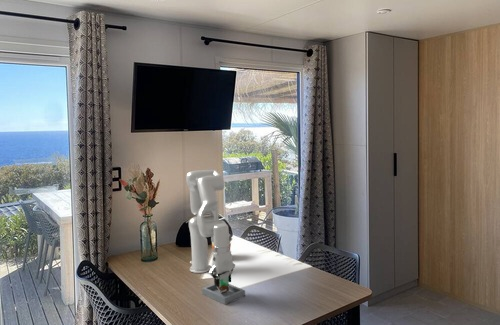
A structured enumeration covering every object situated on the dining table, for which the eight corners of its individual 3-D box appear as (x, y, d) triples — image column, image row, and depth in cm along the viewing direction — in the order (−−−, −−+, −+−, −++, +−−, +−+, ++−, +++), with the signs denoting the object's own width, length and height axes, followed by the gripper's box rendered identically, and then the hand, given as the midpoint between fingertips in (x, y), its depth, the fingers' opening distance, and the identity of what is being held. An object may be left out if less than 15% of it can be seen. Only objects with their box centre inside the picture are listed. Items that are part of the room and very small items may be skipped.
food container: (234, 292, 199) (232, 272, 198) (222, 295, 197) (220, 275, 196) (227, 283, 211) (225, 264, 210) (216, 285, 209) (214, 267, 208)
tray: (202, 293, 206) (201, 288, 206) (222, 286, 215) (222, 280, 214) (224, 304, 193) (224, 298, 192) (245, 296, 202) (244, 290, 201)
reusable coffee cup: (209, 257, 262) (208, 234, 261) (227, 254, 267) (226, 231, 266) (215, 263, 251) (214, 239, 249) (234, 259, 256) (233, 236, 255)
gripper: (212, 254, 193) (213, 291, 195) (239, 246, 205) (240, 280, 206) (202, 251, 198) (204, 286, 200) (230, 243, 210) (231, 277, 212)
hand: (222, 283), depth 203 cm, fingers closed on food container, 6 cm apart
